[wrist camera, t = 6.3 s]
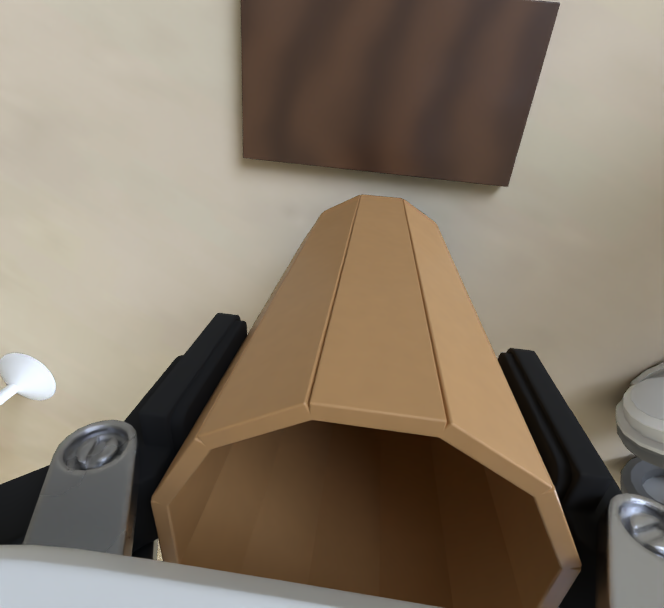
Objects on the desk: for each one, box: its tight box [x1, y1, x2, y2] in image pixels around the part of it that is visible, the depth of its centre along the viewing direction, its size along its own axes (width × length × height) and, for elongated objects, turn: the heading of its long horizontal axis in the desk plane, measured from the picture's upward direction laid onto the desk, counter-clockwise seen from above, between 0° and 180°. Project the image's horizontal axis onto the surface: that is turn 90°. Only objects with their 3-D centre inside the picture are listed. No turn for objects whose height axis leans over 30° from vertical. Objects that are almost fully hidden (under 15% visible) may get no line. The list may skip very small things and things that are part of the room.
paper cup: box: [151, 195, 582, 608], centre depth 12 cm, size 7×7×13 cm
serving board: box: [241, 0, 560, 187], centre depth 28 cm, size 20×11×1 cm, turn 85°
